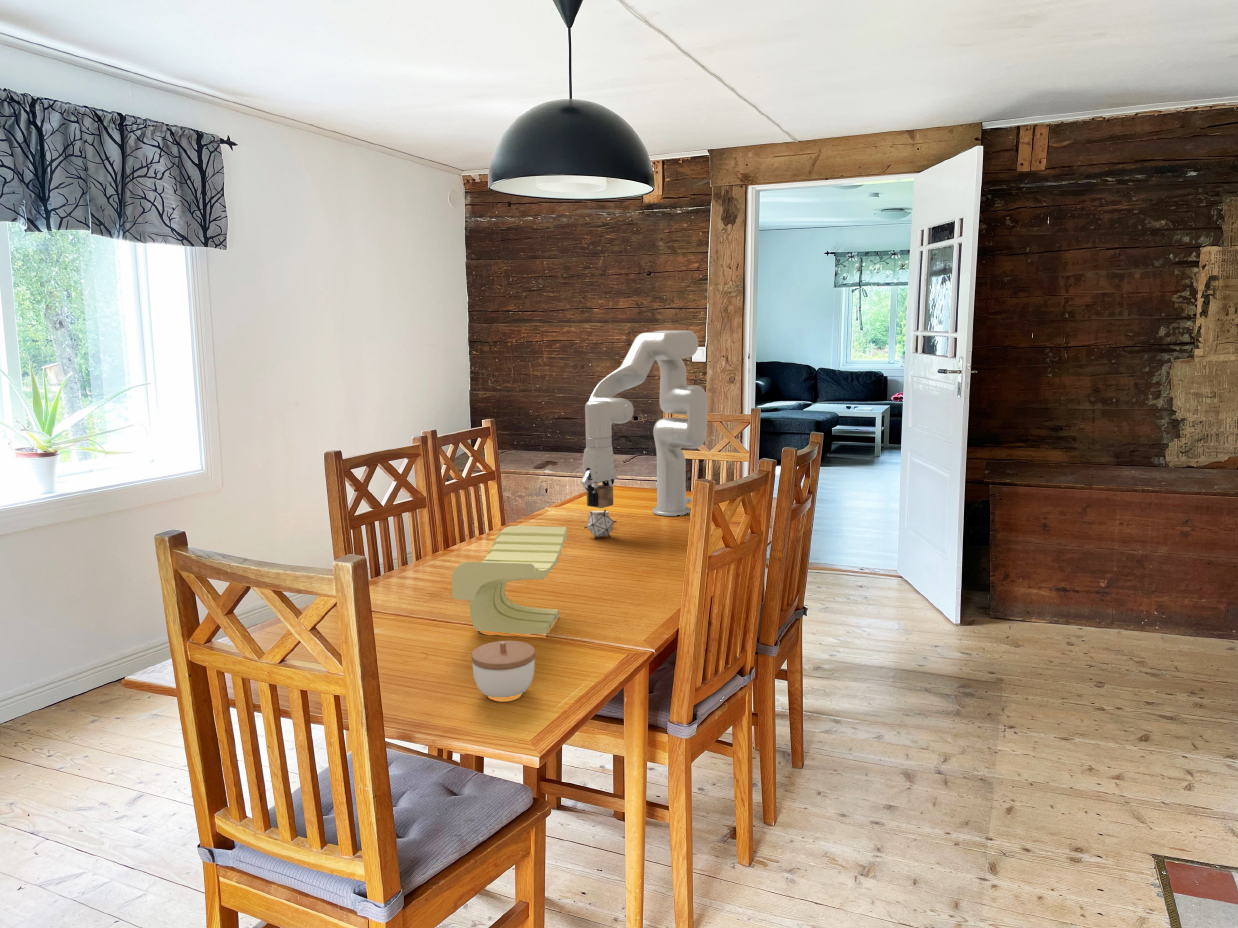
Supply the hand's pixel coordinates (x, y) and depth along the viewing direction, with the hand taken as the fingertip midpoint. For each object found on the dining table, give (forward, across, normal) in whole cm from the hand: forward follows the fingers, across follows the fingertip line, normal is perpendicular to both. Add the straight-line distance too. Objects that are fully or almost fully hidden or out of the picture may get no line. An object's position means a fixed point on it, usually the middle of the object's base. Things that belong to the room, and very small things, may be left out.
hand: (600, 503), depth 254 cm
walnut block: (+1, 0, 0) cm, 1 cm away
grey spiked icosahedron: (+10, -9, -8) cm, 16 cm away
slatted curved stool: (+10, +69, +33) cm, 77 cm away
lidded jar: (+10, +95, +56) cm, 111 cm away
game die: (+10, 0, 0) cm, 10 cm away
